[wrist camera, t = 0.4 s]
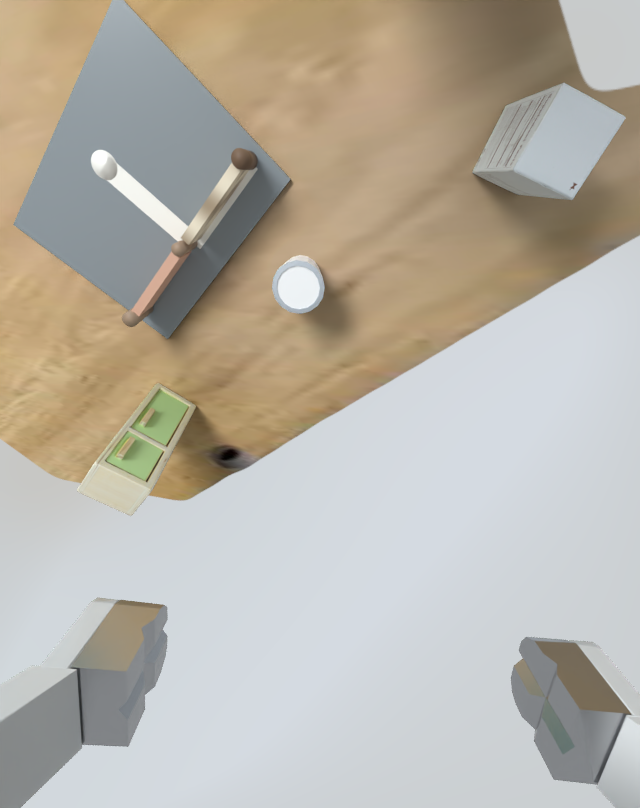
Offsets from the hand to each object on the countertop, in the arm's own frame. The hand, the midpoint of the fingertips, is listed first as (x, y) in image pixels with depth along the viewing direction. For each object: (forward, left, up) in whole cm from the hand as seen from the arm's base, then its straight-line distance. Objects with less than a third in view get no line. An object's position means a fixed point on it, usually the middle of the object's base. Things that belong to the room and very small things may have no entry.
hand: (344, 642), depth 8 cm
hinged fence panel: (+19, -14, -50) cm, 55 cm away
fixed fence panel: (+5, -14, -50) cm, 53 cm away
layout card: (+12, -21, -51) cm, 57 cm away
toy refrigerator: (+38, -2, -51) cm, 64 cm away
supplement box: (-24, +9, -51) cm, 57 cm away
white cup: (+5, 0, -51) cm, 51 cm away
